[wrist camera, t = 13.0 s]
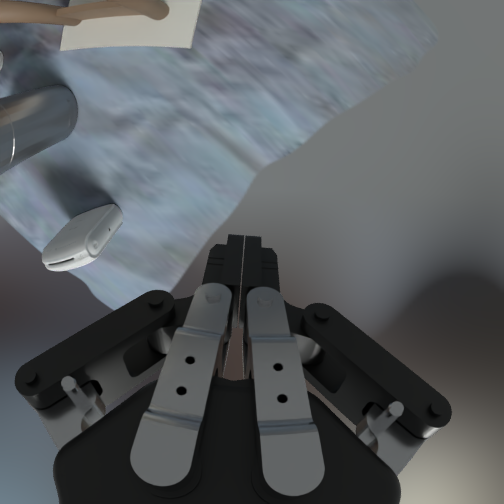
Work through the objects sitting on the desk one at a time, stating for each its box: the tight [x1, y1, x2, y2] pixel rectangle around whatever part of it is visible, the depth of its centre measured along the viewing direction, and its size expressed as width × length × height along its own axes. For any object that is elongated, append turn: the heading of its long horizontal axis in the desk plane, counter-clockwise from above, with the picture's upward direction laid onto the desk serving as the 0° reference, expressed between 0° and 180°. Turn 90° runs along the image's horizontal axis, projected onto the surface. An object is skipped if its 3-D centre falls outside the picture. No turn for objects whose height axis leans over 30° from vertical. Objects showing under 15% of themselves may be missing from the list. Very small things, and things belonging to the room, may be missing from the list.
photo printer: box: [42, 204, 123, 271], centre depth 38 cm, size 10×4×12 cm, turn 103°
